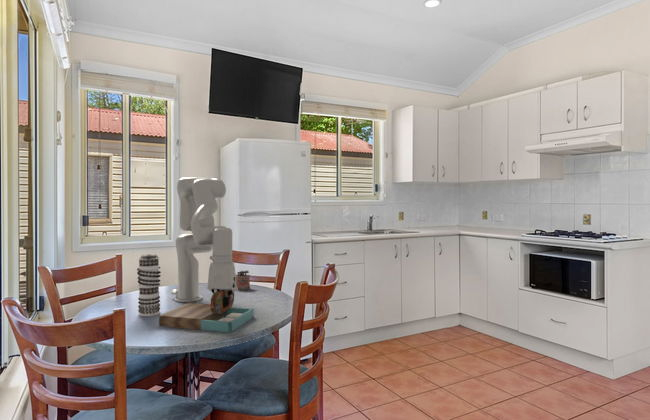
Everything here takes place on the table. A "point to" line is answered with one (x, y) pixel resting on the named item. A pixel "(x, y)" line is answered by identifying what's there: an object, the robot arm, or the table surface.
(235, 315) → the cream tile
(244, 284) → the lighter
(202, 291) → the table surface
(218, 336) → the table surface
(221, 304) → the tin
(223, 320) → the cream tile
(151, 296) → the decorative candle
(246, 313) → the box
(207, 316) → the plate
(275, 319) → the table surface
